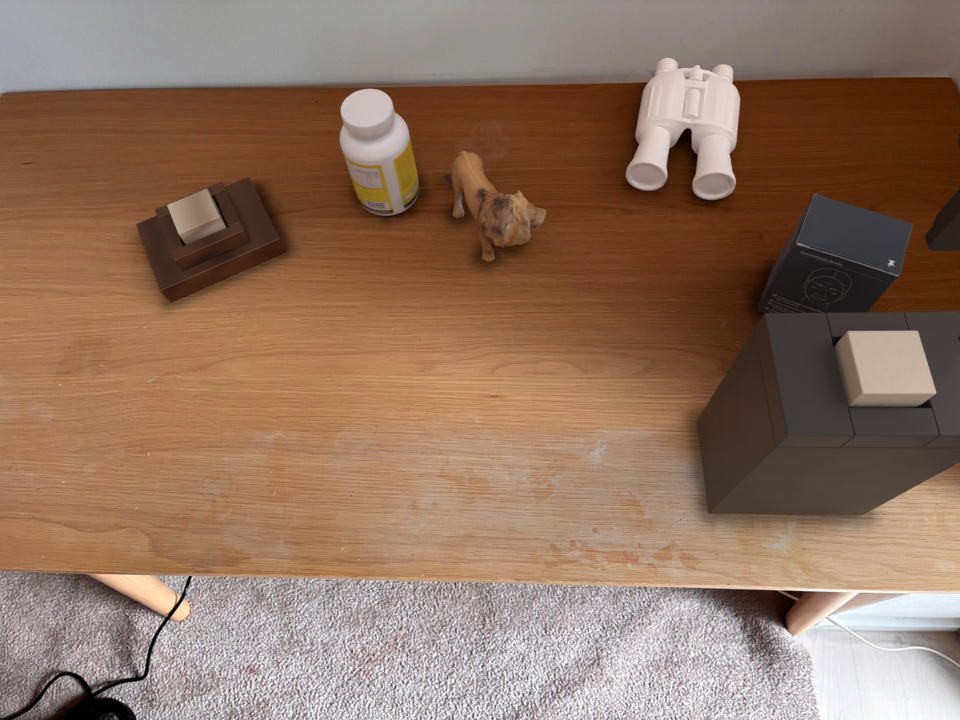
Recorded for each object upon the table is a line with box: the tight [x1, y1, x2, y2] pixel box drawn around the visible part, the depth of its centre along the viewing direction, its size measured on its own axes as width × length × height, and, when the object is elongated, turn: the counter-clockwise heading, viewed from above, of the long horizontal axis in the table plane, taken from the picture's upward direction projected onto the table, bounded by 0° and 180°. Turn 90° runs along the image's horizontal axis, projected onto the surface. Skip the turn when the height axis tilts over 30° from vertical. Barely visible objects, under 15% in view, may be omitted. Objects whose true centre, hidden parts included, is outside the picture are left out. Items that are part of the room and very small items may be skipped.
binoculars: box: [625, 57, 741, 201], centre depth 70 cm, size 10×16×5 cm, turn 167°
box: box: [756, 193, 914, 315], centre depth 58 cm, size 8×6×11 cm
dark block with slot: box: [696, 311, 960, 516], centre depth 48 cm, size 12×8×18 cm, turn 89°
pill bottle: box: [339, 88, 420, 217], centre depth 66 cm, size 6×6×12 cm
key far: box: [167, 188, 226, 245], centre depth 65 cm, size 4×4×2 cm
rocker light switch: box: [135, 176, 286, 303], centre depth 67 cm, size 12×9×4 cm
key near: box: [834, 331, 936, 407], centre depth 40 cm, size 4×4×2 cm
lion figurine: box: [443, 150, 547, 263], centre depth 64 cm, size 15×5×9 cm, turn 35°
